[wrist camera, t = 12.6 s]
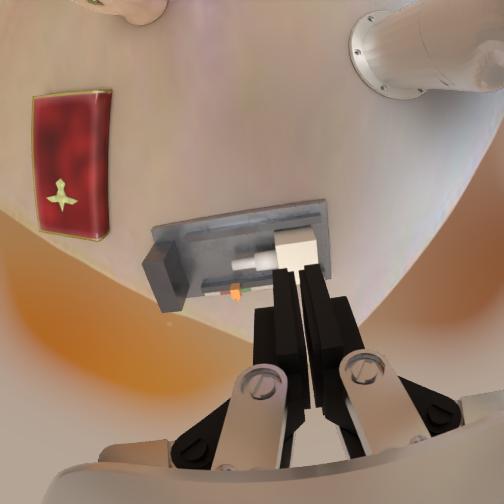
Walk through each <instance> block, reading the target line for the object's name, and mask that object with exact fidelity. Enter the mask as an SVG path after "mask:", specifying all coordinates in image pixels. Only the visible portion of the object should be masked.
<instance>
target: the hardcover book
mask: <svg viewBox="0 0 504 504" xmlns="http://www.w3.org/2000/svg"><path fill="white" fill-rule="evenodd" d="M111 95H112V90H92V91H78V92H66V93H56V94H48V95H40V96H33V100H32V127H31V142H32V170H33V184H34V195H35V204H36V212H37V220H38V227H39V232H43V233H49V234H54V235H60V236H66V237H72V238H78V239H84V240H90V241H96V242H99V241H101V240H102V239H104V238H105V237H106V236H107V235H108V233H109V216H108V136H109V119H110V106H111Z"/></svg>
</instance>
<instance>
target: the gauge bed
mask: <svg viewBox="0 0 504 504" xmlns="http://www.w3.org/2000/svg"><path fill="white" fill-rule="evenodd" d="M304 227H312V229H313V232H314V235H315V238H316V242H317V254H318V263H319V264H320V267H321V270H322V274H323V277H324V280H327V279H331V263H330V245H329V230H328V217H327V205H326V201H325V199H321V200H314V201H307V202H299V203H292V204H285V205H279V206H272V207H265V208H259V209H252V210H246V211H240V212H233V213H227V214H221V215H215V216H210V217H204V218H198V219H192V220H187V221H181V222H176V223H171V224H165V225H160V226H155V227H153V228H152V229H151V232H152V235H153V238H154V241H155V244H154V245H153V247H152V248H151V250H150V252H149V253H148V255H147V256H146V258H145V259H144V261H143V263H142V266H143V268H144V271H145V273H146V276H147V278H148V281H149V283H150V286H151V288H152V291H153V293H154V295H155V298H156V300H157V303H158V305H159V307H160V309H161V312H162V313H166V312H177V311H182V309H183V306H184V303H185V300H186V298H190V297H199V296H213V295H224V294H231V292H230V288H231V284H233V283H240V287H241V291H242V292H248V291H254V290H262V289H269V288H273V277H272V270H276V269H279V267H278V268H276V269H269V270H262V271H257V270H256V268H248V269H241V270H234V271H233V269H232V260H236V259H243V258H250V257H254V253H258V252H265V251H272V250H276V248H275V238H274V232H276V231H283V230H290V229H297V228H304ZM296 285H298V284H296Z"/></svg>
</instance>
